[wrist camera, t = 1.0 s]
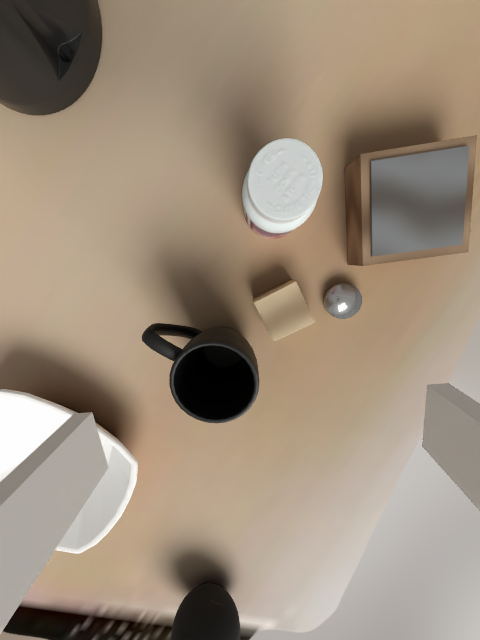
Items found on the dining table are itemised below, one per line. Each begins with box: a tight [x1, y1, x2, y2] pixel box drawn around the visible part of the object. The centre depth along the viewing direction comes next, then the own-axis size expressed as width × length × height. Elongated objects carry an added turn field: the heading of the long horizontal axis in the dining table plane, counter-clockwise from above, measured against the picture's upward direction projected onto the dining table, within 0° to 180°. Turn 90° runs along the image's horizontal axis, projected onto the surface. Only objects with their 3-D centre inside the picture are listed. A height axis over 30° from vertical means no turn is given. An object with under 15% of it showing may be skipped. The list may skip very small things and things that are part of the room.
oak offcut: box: [253, 279, 315, 342], centre depth 29 cm, size 5×5×3 cm
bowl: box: [0, 389, 138, 554], centre depth 34 cm, size 22×22×5 cm
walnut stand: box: [345, 135, 477, 266], centre depth 26 cm, size 10×10×4 cm
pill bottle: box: [242, 138, 323, 239], centre depth 23 cm, size 6×6×11 cm
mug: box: [142, 323, 259, 423], centre depth 27 cm, size 8×12×10 cm
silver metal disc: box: [323, 283, 362, 319], centre depth 30 cm, size 4×4×1 cm
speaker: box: [171, 583, 240, 640], centre depth 38 cm, size 10×10×10 cm
